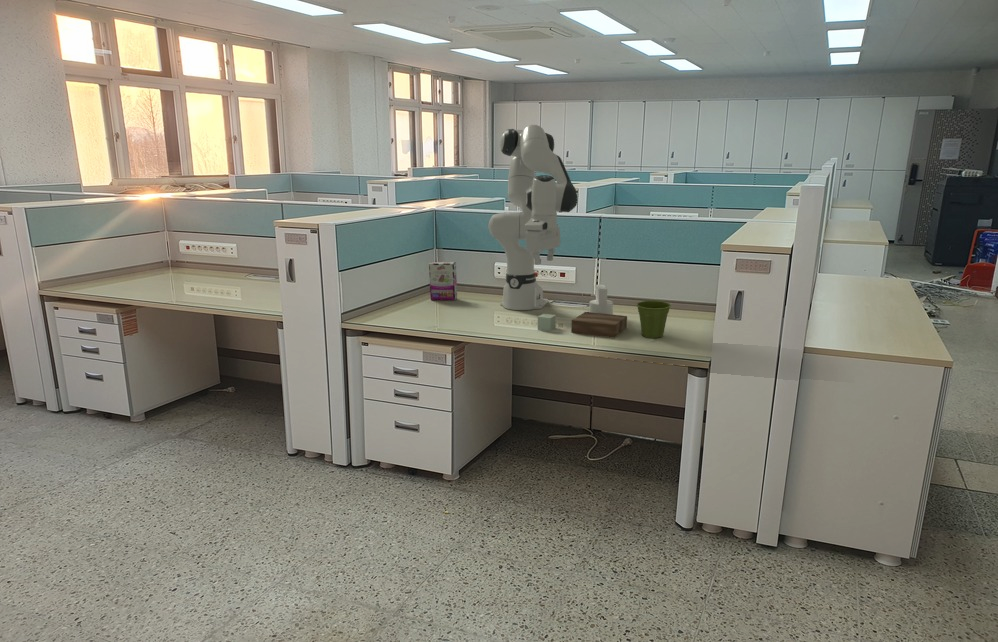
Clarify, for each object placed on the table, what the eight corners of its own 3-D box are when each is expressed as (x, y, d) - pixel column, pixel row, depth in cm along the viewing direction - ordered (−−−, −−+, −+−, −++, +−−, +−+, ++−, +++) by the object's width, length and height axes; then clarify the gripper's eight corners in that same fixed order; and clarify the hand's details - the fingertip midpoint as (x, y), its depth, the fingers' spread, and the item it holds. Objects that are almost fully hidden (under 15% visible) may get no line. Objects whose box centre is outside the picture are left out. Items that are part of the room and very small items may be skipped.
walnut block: (585, 324, 251) (585, 311, 250) (626, 329, 244) (627, 316, 242) (571, 333, 239) (571, 320, 238) (614, 338, 232) (614, 325, 230)
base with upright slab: (587, 314, 264) (588, 284, 261) (610, 314, 264) (611, 284, 261) (590, 320, 256) (591, 289, 253) (614, 319, 256) (615, 289, 253)
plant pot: (631, 331, 239) (632, 301, 236) (663, 330, 239) (665, 300, 237) (640, 341, 227) (641, 308, 224) (674, 339, 228) (676, 307, 225)
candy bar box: (457, 298, 296) (456, 261, 292) (455, 300, 291) (453, 263, 287) (433, 297, 298) (431, 261, 294) (430, 300, 293) (428, 263, 289)
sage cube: (543, 326, 247) (543, 313, 246) (555, 328, 245) (555, 315, 244) (537, 330, 243) (537, 316, 242) (550, 331, 241) (550, 318, 240)
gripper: (549, 220, 244) (549, 257, 247) (522, 225, 227) (522, 265, 230) (564, 220, 241) (564, 258, 244) (539, 226, 224) (539, 267, 227)
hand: (544, 262), depth 237 cm, fingers open, 8 cm apart
